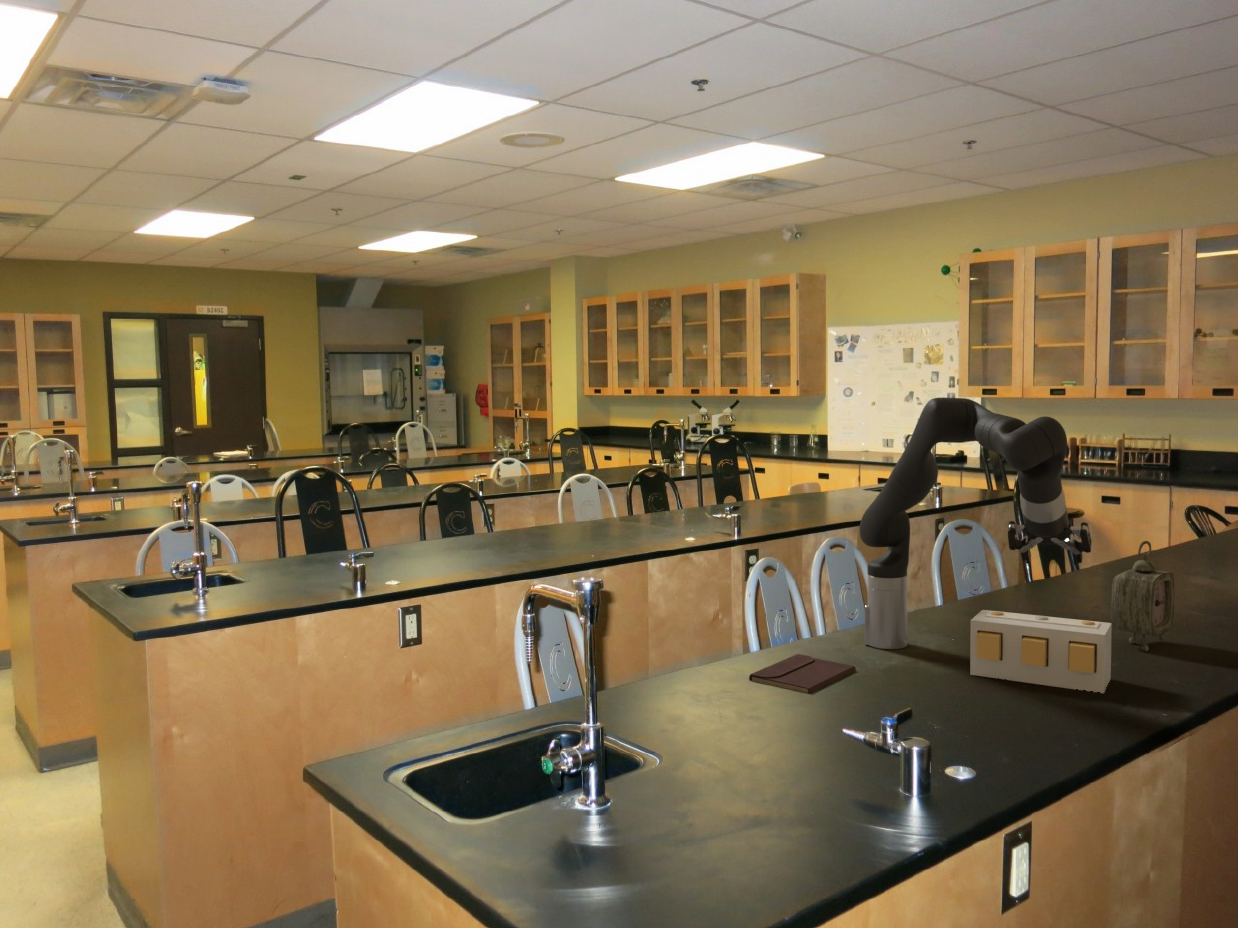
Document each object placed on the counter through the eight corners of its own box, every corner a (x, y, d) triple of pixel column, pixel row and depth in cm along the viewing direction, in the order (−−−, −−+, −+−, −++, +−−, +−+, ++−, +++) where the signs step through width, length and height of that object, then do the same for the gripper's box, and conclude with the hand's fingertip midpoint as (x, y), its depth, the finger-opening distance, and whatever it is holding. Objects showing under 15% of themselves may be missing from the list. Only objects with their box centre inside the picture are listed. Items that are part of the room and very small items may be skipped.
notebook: (855, 673, 212) (855, 664, 211) (810, 695, 197) (810, 686, 197) (796, 661, 222) (796, 652, 221) (749, 682, 207) (748, 673, 207)
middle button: (1021, 663, 199) (1022, 639, 199) (1024, 660, 202) (1024, 636, 201) (1044, 666, 197) (1044, 642, 196) (1047, 663, 199) (1047, 638, 199)
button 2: (1069, 670, 194) (1069, 644, 194) (1071, 666, 197) (1071, 641, 196) (1093, 673, 192) (1093, 647, 191) (1095, 669, 194) (1095, 644, 194)
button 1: (976, 658, 204) (977, 634, 204) (980, 654, 206) (980, 630, 206) (998, 660, 202) (998, 636, 201) (1001, 657, 204) (1001, 633, 204)
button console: (970, 674, 207) (970, 617, 206) (982, 661, 216) (982, 607, 215) (1103, 693, 193) (1104, 632, 192) (1110, 678, 202) (1111, 620, 201)
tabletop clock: (1149, 654, 219) (1152, 546, 217) (1108, 647, 225) (1110, 542, 223) (1173, 642, 228) (1175, 539, 226) (1133, 636, 235) (1135, 535, 233)
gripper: (1087, 491, 174) (1094, 547, 184) (1004, 490, 181) (1015, 544, 191) (1085, 522, 169) (1092, 578, 179) (1000, 520, 177) (1011, 574, 187)
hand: (1052, 561), depth 185 cm, fingers open, 8 cm apart
